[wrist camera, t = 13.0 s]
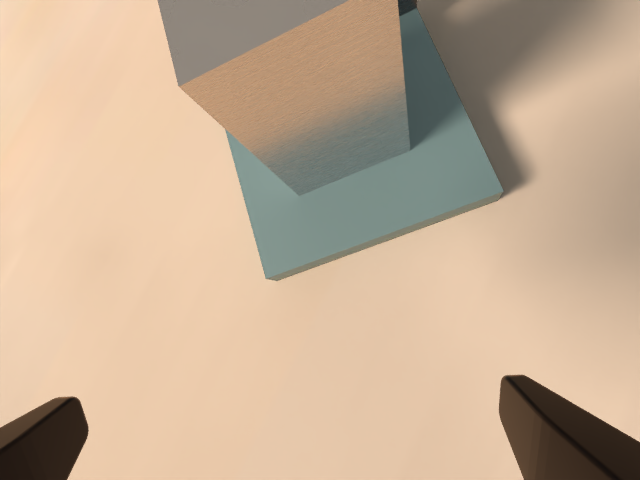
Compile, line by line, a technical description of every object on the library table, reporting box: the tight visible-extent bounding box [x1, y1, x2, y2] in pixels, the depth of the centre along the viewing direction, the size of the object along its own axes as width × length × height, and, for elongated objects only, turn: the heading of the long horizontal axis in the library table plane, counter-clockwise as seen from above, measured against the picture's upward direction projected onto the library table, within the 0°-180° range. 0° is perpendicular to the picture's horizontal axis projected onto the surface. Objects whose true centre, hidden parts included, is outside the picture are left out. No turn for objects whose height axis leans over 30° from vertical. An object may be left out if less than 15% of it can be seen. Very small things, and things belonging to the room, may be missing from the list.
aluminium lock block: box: [158, 0, 410, 196], centre depth 15 cm, size 5×6×10 cm
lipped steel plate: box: [225, 0, 504, 281], centre depth 19 cm, size 12×12×4 cm
